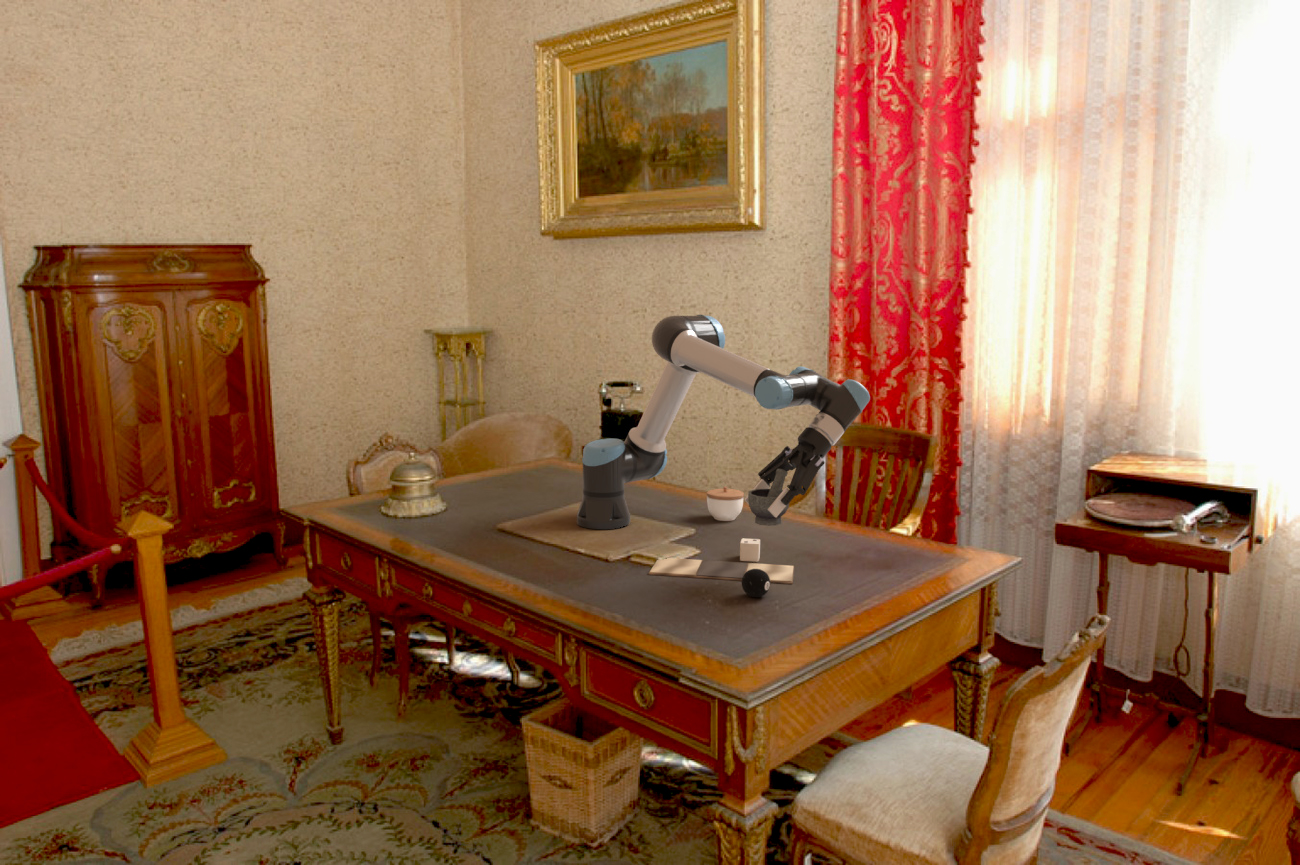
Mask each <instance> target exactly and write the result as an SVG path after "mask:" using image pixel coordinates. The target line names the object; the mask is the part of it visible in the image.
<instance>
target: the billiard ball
mask: <svg viewBox="0 0 1300 865" xmlns="http://www.w3.org/2000/svg"><path fill="white" fill-rule="evenodd" d="M741 587H742V590H743V592H745V594H746V595H748V596H749V597H753V598H761V597H763V596H765V595H766V594H767V593H768V592H769V591H770V588H771V583H770V578H769V576H768V574H767V573H766V572H764V571H763V570H760V569H751V570H749V571H747V572H746V573H745V574H744V576H743V578H742V581H741Z"/></svg>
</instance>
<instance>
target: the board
mask: <svg viewBox="0 0 1300 865" xmlns="http://www.w3.org/2000/svg"><path fill="white" fill-rule="evenodd" d="M666 558H667V559H664V560H657V559H656V561H655V563H654V564H653V565H652V567H651V568H650V570H649V571H648V573H647V574H648V575H649V576H650V575H651V576H664V577H665V576H666V577H679V578H680V577H681V578H682V577H683V578H695V579H696V578H697V579H710V580H711V579H712V580H723V581H724V580H725V581H739V582H742V578H743V576H744V574H745V573H746V572H747V571H749V570H751V569H760V570H763V571H764V572H766V573H767V574H768V576H769V578H770V584H772V583H773V584H786V585H787V584H788V585H793V582H794V574H795V565H787V564H770V563H769V564H768V563H758V562H757V563H755V562H753V563H752V562H738V561H723V560H722V561H721V560H710V559H709V560H706V559H691V558H690V559H689V558H675V557H666Z"/></svg>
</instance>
